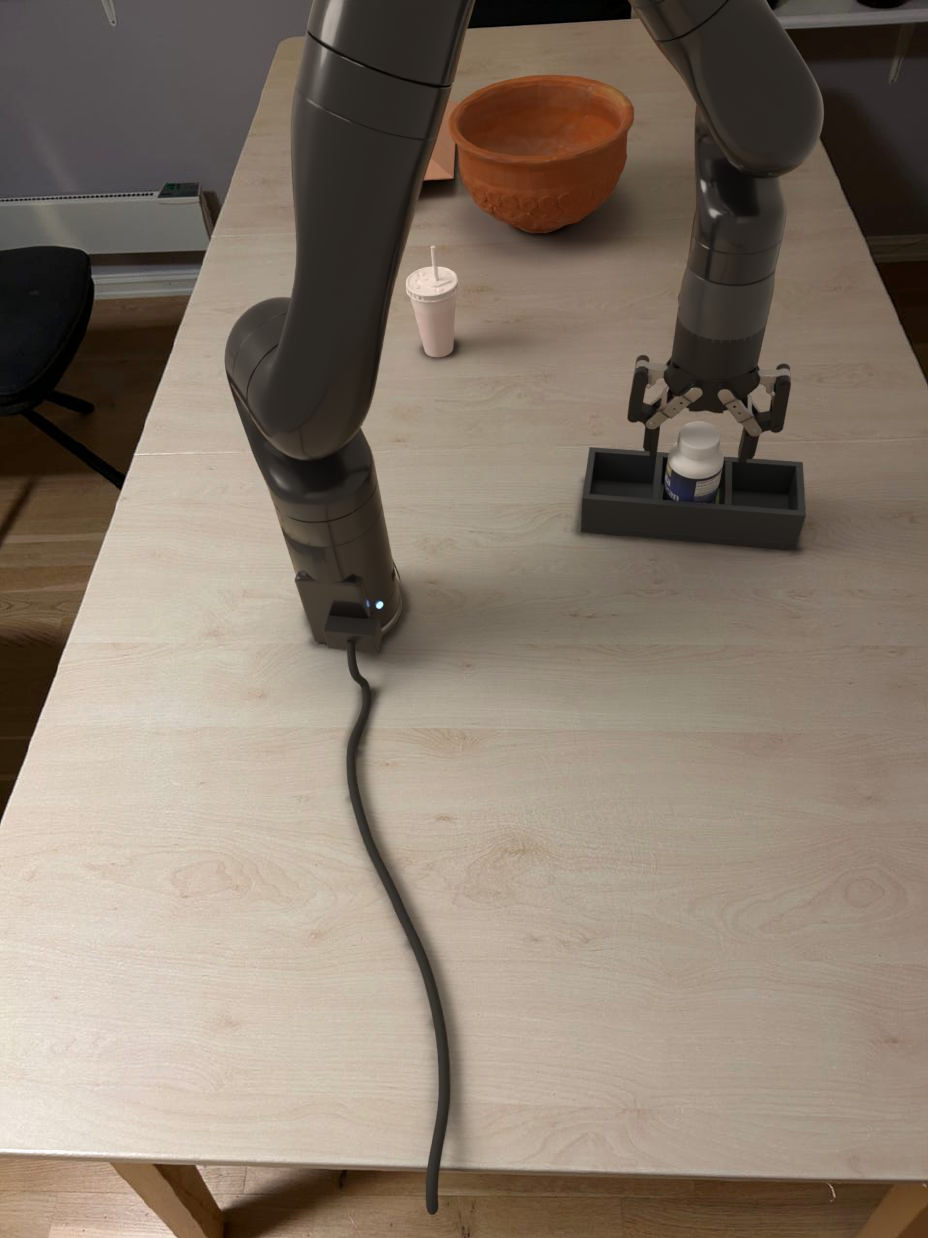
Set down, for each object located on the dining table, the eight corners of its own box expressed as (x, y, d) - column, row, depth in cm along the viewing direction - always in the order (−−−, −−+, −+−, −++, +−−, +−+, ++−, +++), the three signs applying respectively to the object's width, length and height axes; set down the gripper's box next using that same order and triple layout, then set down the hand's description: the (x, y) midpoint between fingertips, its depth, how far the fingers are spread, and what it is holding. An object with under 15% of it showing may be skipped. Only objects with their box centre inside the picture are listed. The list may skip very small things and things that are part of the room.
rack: (795, 550, 94) (806, 515, 90) (580, 532, 98) (582, 498, 94) (792, 496, 99) (802, 461, 95) (587, 481, 103) (589, 446, 99)
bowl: (658, 236, 132) (669, 127, 120) (495, 283, 127) (490, 174, 115) (580, 162, 146) (583, 58, 135) (432, 201, 142) (422, 98, 130)
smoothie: (458, 365, 117) (449, 263, 106) (408, 362, 118) (394, 260, 107) (468, 334, 120) (460, 233, 110) (420, 331, 122) (408, 230, 111)
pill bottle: (651, 498, 99) (660, 426, 91) (694, 481, 100) (707, 409, 92) (679, 531, 95) (691, 459, 88) (724, 513, 97) (739, 441, 89)
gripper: (634, 332, 78) (621, 475, 91) (812, 341, 76) (772, 487, 88) (640, 281, 82) (627, 424, 95) (808, 289, 80) (771, 435, 93)
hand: (697, 454), depth 92 cm, fingers open, 8 cm apart
